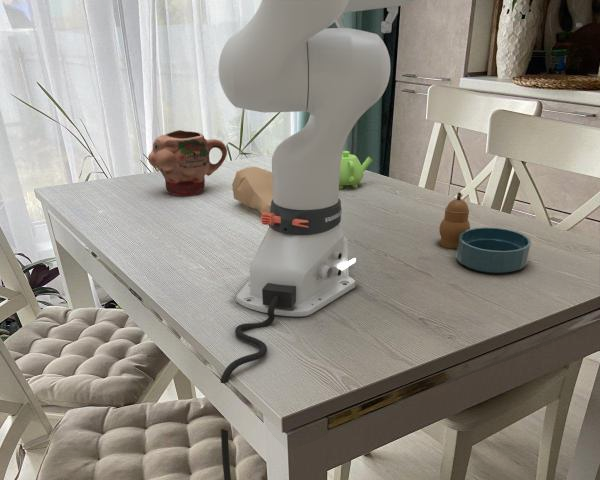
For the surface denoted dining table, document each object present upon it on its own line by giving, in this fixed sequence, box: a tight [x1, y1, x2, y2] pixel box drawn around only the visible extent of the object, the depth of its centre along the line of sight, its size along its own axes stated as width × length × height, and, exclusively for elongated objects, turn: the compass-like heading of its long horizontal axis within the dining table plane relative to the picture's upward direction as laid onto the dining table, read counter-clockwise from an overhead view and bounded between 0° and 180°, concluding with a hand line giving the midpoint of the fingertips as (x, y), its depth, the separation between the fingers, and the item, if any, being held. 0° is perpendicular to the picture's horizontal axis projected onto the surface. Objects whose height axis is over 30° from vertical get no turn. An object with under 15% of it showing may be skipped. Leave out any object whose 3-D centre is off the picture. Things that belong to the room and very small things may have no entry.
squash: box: [231, 166, 273, 216], centre depth 142 cm, size 11×20×9 cm, turn 25°
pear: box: [439, 191, 471, 250], centre depth 121 cm, size 6×6×10 cm
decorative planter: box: [147, 129, 228, 197], centre depth 155 cm, size 20×12×14 cm, turn 115°
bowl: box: [455, 226, 532, 274], centre depth 115 cm, size 13×13×4 cm
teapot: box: [339, 150, 374, 190], centre depth 159 cm, size 11×12×8 cm
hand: (364, 35), depth 122 cm, fingers open, 8 cm apart
